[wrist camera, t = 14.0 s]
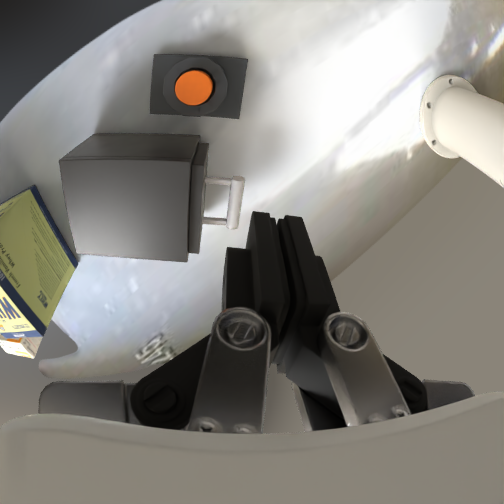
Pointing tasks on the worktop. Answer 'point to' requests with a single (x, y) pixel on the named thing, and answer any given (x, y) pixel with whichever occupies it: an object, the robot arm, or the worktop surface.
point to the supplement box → (21, 345)
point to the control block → (217, 67)
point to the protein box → (30, 266)
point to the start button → (193, 87)
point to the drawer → (198, 197)
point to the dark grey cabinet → (130, 195)
